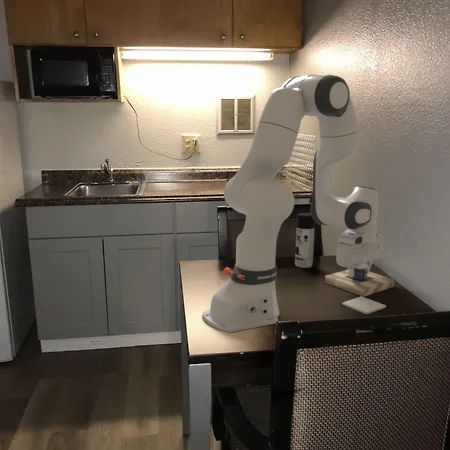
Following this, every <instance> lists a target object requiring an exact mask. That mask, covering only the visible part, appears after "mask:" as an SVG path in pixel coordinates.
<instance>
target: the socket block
mask: <svg viewBox="0 0 450 450" xmlns="http://www.w3.org/2000/svg"><path fill="white" fill-rule="evenodd" d="M324 283H325V284H328V285H331V286H333V287H336V288H338V289H341V290H343V291H346V292H348V293H349V292H350V293H352V294H355V295H357V296H359V297H361V296H362V297H364V298H365V297H367V296H369V295H372V294H376V293H379V292H382V291H386V290H388V289H391V288H394V286H395V279H394V278H390V277H387V276H385V275H380V274H378V273H374V272H372V271H370V272H369V273H367V281H365V282H358V281H355V280H352V279H350V277H349V271H348V269H346V270H342V271H338V272H335V273H330V274H327V275H325V276H324Z"/></svg>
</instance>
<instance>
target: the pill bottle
mask: <svg viewBox="0 0 450 450" xmlns="http://www.w3.org/2000/svg"><path fill="white" fill-rule="evenodd" d="M353 269H354V272H356V276H355V277H350V279H352V280H355V281H358V282H365V281H367V270H368V265H367V264H366V258H365V259H363V262H362V263H360V264H356V265H355V267H354V268H353Z"/></svg>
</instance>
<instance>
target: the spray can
mask: <svg viewBox="0 0 450 450" xmlns="http://www.w3.org/2000/svg"><path fill="white" fill-rule="evenodd" d="M296 218H297V219H296V234H295V257H294V258H295V259H294V264H295V265H294V266H296V267H297V268H302V269H309V268H312V267H313V263H314V262H313V261H314V247H315V246H314V245H315V227H316V226H315V225H316V224H315V223H316V222H315V221H314V220H313V218H312V215H311V212H299V213H297V215H296Z"/></svg>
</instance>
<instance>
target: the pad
mask: <svg viewBox="0 0 450 450" xmlns="http://www.w3.org/2000/svg"><path fill="white" fill-rule="evenodd" d="M341 305H342V306H345V307H348V308H350V309H353V310H354V311H357V312H358V313H359V312H360V313H362V314H364V315H369V314H371V313H374V312H377V311H380V310H383V309H385V308H386V307H387V305H386V304H382V303H380V302H377V301H375V300H372V299H369V298H366V297H365V296H364V297H362V296H358V297H355V298H352V299H349V300H346V301H344V302H341Z"/></svg>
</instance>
